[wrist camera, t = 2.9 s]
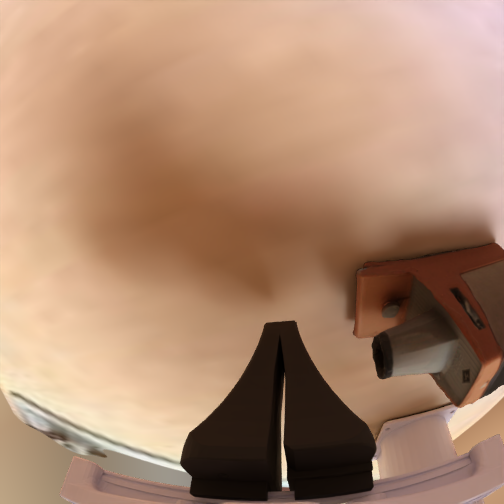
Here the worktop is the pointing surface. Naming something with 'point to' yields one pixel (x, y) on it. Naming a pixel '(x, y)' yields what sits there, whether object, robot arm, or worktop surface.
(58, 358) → the worktop surface
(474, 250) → the electronic device
